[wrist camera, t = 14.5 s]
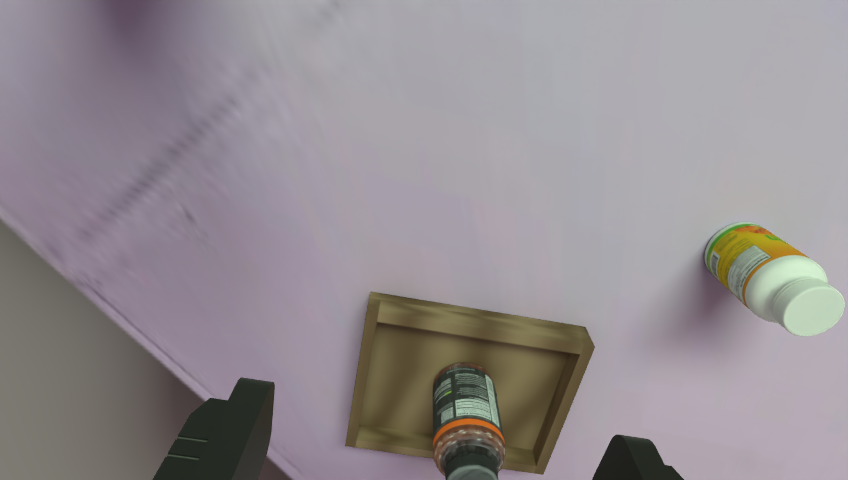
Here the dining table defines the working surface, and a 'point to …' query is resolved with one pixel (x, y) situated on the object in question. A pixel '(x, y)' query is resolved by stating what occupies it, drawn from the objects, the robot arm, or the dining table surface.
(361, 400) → the serving tray
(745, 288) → the supplement bottle
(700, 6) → the dining table surface
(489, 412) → the supplement bottle
